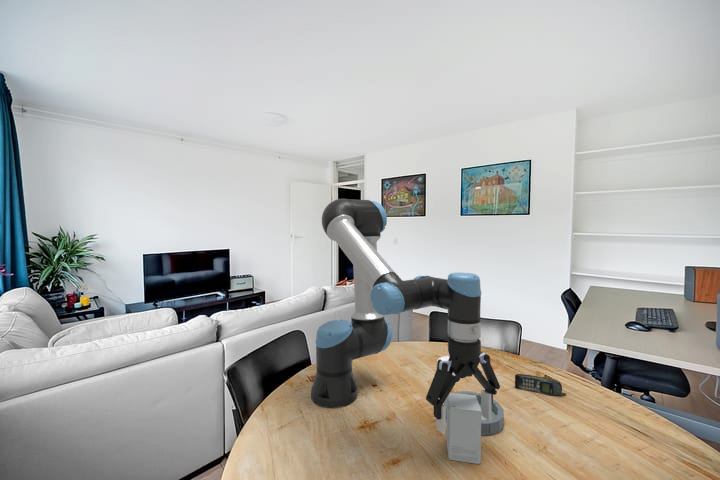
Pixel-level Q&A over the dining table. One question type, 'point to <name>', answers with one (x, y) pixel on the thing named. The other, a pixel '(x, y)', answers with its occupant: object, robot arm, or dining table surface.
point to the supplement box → (463, 428)
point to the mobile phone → (538, 384)
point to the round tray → (486, 426)
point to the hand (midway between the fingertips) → (464, 424)
